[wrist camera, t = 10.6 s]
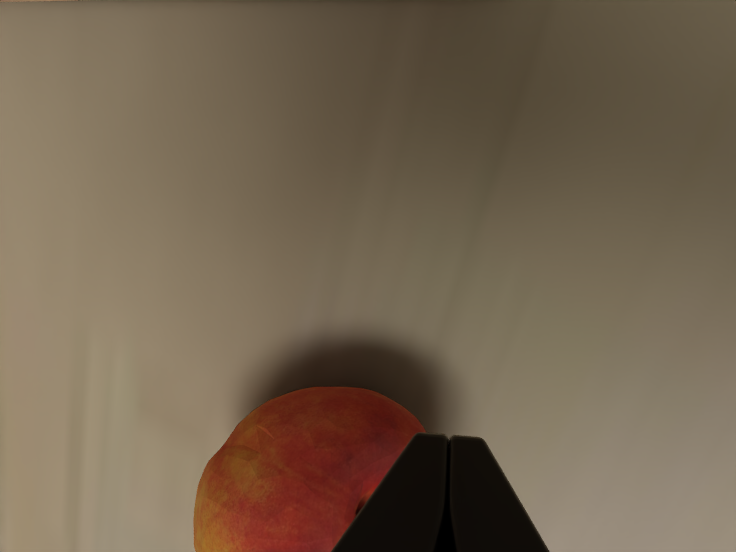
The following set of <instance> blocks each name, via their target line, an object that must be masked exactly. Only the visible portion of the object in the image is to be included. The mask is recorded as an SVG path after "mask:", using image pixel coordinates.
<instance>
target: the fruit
mask: <svg viewBox="0 0 736 552" xmlns="http://www.w3.org/2000/svg"><path fill="white" fill-rule="evenodd" d="M418 432H425V433H426V431H425V429H424V427H423V426H422V425H421V423H420V422H419V421H418V419H417V418H416V417H415V416H414V415H412V414H411V413H410V412H409V411H408V410H407V409H405V408H404V407H403V406H401V405H399V404H398V403H396V402H395V401H393V400H391V399H390V398H388V397H386V396H384V395H382V394H380V393H377V392H375V391H371V390H367V389H363V388H355V387H311V388H305V389H299V390H296V391H293V392H290V393H287V394H284V395H282V396H279V397H276V398H274V399H271V400H269V401H267V402H266V403H264V404H262V405H261V406H259V407H258V408H256V409H255V410H253V411H252V412H251V413H250V414H249V415H248V416H247V417H245V418H244V419H243V420H242V421H241V422H240V423H239V424H238V425H237V426H236V428H235V429H234V431H233V432H232V434H231V435H230V437H229V438H228V439H227V441H226V442H225V444H224V445H223V446H222V447H221V448H220V450H219V451H218V452H217V453H216V454H215V455H214V456H213V457H212V458H211V459H210V460H209V462H208V463H207V465H206V467H205V469H204V472H203V474H202V477H201V479H200V482H199V485H198V489H197V495H196V502H195V508H194V547H195V551H196V552H331V551H332V549H333V548H334V546H335V545H336V544H337V542H338V541H339V539H340V538H341V537H342V535H343V534H344V532H345V531H346V530H347V528H348V527H349V525H350V524H351V523H352V521H353V520H354V518H355V517H356V516H357V514H358V513H359V511H360V510H361V509H362V507H363V506H364V504H365V503H366V502H367V500H368V499H369V497H370V496H371V494H372V493H373V492H374V490H375V489H376V487H377V486H378V485H379V483H380V482H381V480H382V479H383V478H384V476H385V475H386V473H387V472H388V471H389V469H390V468H391V466H392V465H393V464H394V462H395V461H396V459H397V458H398V457H399V455H400V454H401V452H402V451H403V450H404V448H405V447H406V445H407V444H408V443H409V441H410V440H411V438H412V437H413V436H414V435H415V434H416V433H418Z"/></svg>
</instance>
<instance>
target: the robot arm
mask: <svg viewBox="0 0 736 552" xmlns="http://www.w3.org/2000/svg"><path fill="white" fill-rule="evenodd" d="M331 552H549V550H548V548H547V546H546V545H545V543H544V541H543V540H542V538H541V536H540V534H539V533H538V531H537V529H536V528H535V526H534V524H533V522H532V521H531V519H530V517H529V516H528V514H527V512H526V510H525V509H524V507H523V505H522V504H521V502H520V500H519V498H518V497H517V495H516V493H515V492H514V490H513V488H512V486H511V485H510V483H509V481H508V480H507V478H506V476H505V474H504V473H503V471H502V469H501V468H500V466H499V464H498V462H497V461H496V459H495V457H494V456H493V454H492V452H491V450H490V449H489V447H488V445H487V444H486V442H485V441H484V440H483V439H482V438H480V437H472V436H460V435H453V436H452V437H451V438H450V440H449V439H448V437H447V436H446V435H445V434H437V433H425V432H418V433H416V434H415V435H414V436H413V437H412V438H411V440H410V441H409V443H408V444H407V445H406V447H405V448H404V450H403V451H402V452H401V454H400V455H399V457H398V458H397V459H396V461H395V462H394V464H393V465H392V466H391V468H390V469H389V471H388V472H387V473H386V475H385V476H384V478H383V479H382V480H381V482H380V483H379V485H378V486H377V487H376V489H375V490H374V492H373V493H372V494H371V496H370V497H369V499H368V500H367V502H366V503H365V504H364V506H363V507H362V509H361V510H360V511H359V513H358V514H357V516H356V517H355V518H354V520H353V521H352V523H351V524H350V525H349V527H348V528H347V530H346V531H345V532H344V534H343V535H342V537H341V538H340V539H339V541H338V542H337V544H336V545H335V546H334V548H333V549H332V551H331Z"/></svg>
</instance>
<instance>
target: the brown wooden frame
mask: <svg viewBox="0 0 736 552" xmlns="http://www.w3.org/2000/svg"><path fill="white" fill-rule="evenodd" d="M20 1H76V0H0V2H20Z"/></svg>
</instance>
